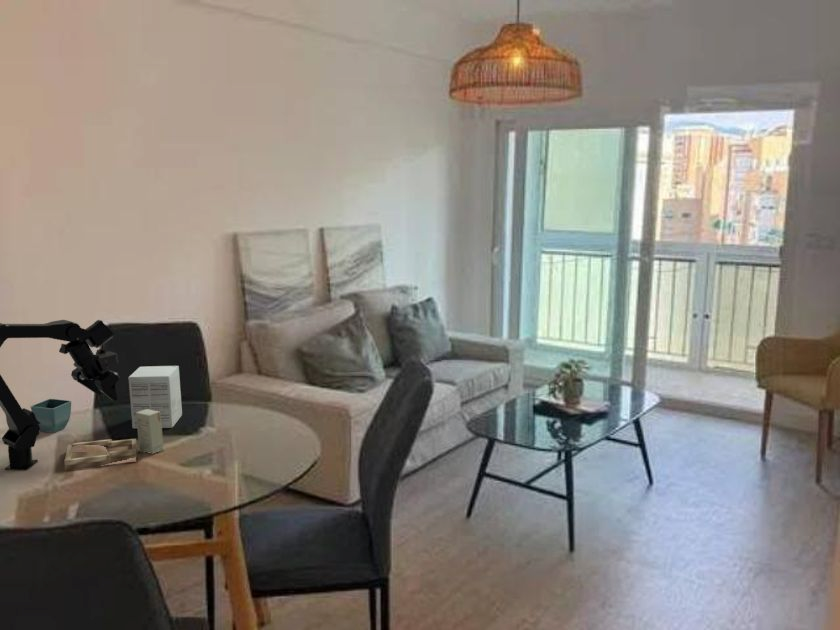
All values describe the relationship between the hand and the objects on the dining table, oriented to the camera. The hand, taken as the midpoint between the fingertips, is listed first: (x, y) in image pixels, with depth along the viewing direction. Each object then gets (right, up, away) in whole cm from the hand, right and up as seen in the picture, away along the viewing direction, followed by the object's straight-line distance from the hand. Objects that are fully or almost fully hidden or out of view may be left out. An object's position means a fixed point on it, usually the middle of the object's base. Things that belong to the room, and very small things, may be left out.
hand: (108, 397), depth 241 cm
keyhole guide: (+3, -16, -11) cm, 20 cm away
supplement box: (+9, -10, +19) cm, 23 cm away
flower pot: (-22, -12, +12) cm, 28 cm away
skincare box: (+16, -15, -7) cm, 23 cm away
